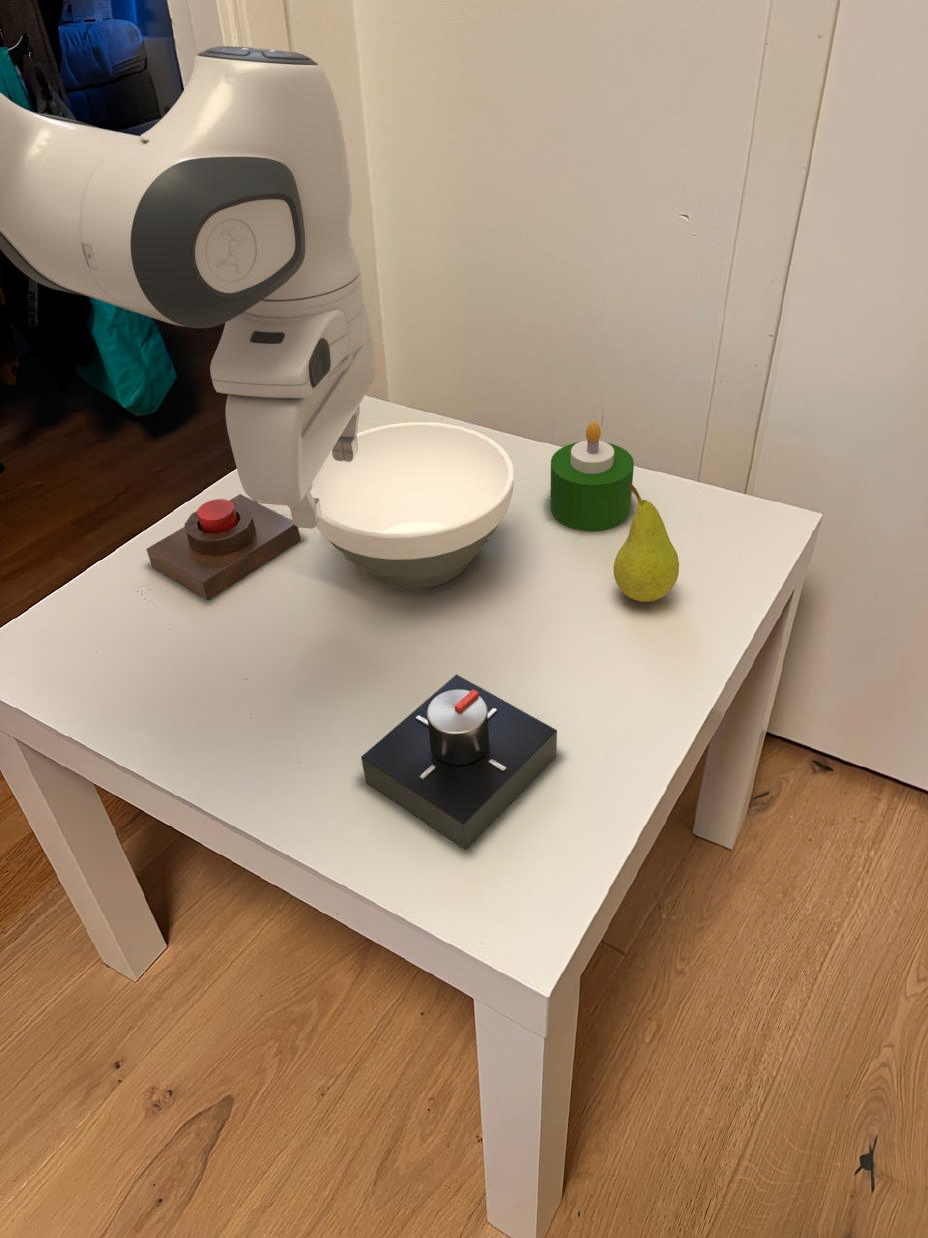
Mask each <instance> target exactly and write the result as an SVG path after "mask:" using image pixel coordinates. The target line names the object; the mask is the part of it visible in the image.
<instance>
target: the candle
mask: <svg viewBox="0 0 928 1238" xmlns="http://www.w3.org/2000/svg"><path fill="white" fill-rule="evenodd" d="M601 433H602V432H601V427H600V425H599V424H598V422H597V421H591V422H590V423H589V425H587V428H586V431H585V438H586V440H582V441H578V442H573V443H570V444H566V445H564V446H562V447H561V448H559V449H558V450H557V451H555V452H554V454H552V456H551V459H550V495H549V496H550V502H549V505H550V506H549V507H550V513H551V515H552V517H553V518H554V519H555V520H556V521H557V522H558V523H560V524H561V525H563V526H565V527H568V528H571V529H574V530H578V531H583V532H599V531H605V530H610V529H612V528H615V527H617V526H619V525H621V524H622V523H624V522H625V521H626V520H627V519H628V517H629V516H630V513H631V506H632V494H633V492H632V491H631V490H630V489H629V485H630V484H632V485H633V481H634V467H635V462H634V458H633V456H632V454H631V453H629V452H628V451H627V450H626V449H625V448H623V447H621V446H619V445H617V444H614V443H611V442H606V441H602V440H600V438H601Z"/></svg>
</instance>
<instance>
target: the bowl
mask: <svg viewBox="0 0 928 1238" xmlns="http://www.w3.org/2000/svg"><path fill="white" fill-rule="evenodd" d="M357 441H358V452H357V454H356V455H355V457H354V459H353V460H352V461H351V462H346V461H337V460H335V459H334V458H333V456H332V450H331V452H330V454H329V455H328V457H327V459H326V460H325V462H324V464H323V465H322V467H321V469H320V470H319V472H318V474H317V475H316V477H315V479H314V480H313V482H312V485H313V486H312V489H311V490H310V493H311V495H312V497H313V498H319V500H320V510H321V512H322V515H321V517H320V519H319V521H318V522H317V524H316V526H315V528H316V529H317V530H318V531H319V532H320V533H321V534H322V535H323V537H324V538H325V539H326V540H328V542H329V543H330V544H331V545H332V546H333V547H334V548H335V549H336V550H338V551H339V552H341V553H342V554H343V555H344V557H345V558H346V559H347V560H348V561H350V562H351V563H352V564H353V565H355V566H356V567H358V568H360V569H361V570H362V571H364V573H365V574H366V575H367V576H368V577H369V578H371V580H373V581H375V582H376V583H379V584H381V585H383V586H385V587H386V586H387V587H389V588H393V589H400V590H401V589H402V590H421V589H428V588H434V587H436V586H440V585H443V584H445V583H448V582H449V581H452V580H453V579H455V578H456V577H458V576H459V575H460V574H462V573H463V572H464V571H465V570H466V569H467V568H468V567H469V565H470V563H471V562H472V560H473V559H474V557H476V556H477V555H478V554H479V553H480V552H481V551H482V549H483V548H484V547H485V545H486V544H487V543H488V541H489V538H491V536H492V535H493V534H494V532H495V531H496V530H497V529H498V527H499V525H500V524H501V523H502V520H503V519H504V517H505V516H506V515H507V512H508V509H509V508H510V507H509V506H510V503H511V500H512V496H513V492H514V484H515V483H514V482H515V467H514V464H513V461H512V459H511V456H510V455H509V454H508V452H506V450H505V448H503V446H501V445H500V444H498V443H497V442H496V441H495V440H493V439H492V438H490V437H488V436H486V435H484V434H482V433H481V432H478V431H476V430H473V429H469V428H466V427H463V426H460V425H454V424H448V423H443V422H429V421H428V422H427V421H421V422H419V421H417V422H401V423H394V424H387V425H381V426H377V427H373V428H369V429H366V430H363V431H360V432H357Z"/></svg>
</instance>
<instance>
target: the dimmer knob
mask: <svg viewBox="0 0 928 1238" xmlns="http://www.w3.org/2000/svg"><path fill="white" fill-rule="evenodd" d="M427 720H428V729H429V738H430V746H431V750H432V752H433V754H434V755H435V756H436V757H437V758H438V759H439V760H441V761H443V762H445V763H447V764H452V765H465V764H469V763H472V762H474V761H476V760H478V759H479V758H481V757H482V756H483V755H484V754H485V752H486V751H487V749H488V746H489V731H488V711H487V705H486V703H485V701H484V700H483V699H482V698H481V697H480V696H479V693H478V692H477V691H475V690H472V691H468V690H460V689H458V690H450V691H446V692H443V693H441V694H439V695H438V696H436V697H435V698H434V699H433V700H432V701H431V702H430V704H429V706H428V709H427Z"/></svg>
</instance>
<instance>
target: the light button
mask: <svg viewBox="0 0 928 1238" xmlns="http://www.w3.org/2000/svg"><path fill="white" fill-rule="evenodd" d="M196 511H197V516H198V519H199V523H200V526H201V529H202V531H203V532H205V533H214V534H217V533H221V532H225V531H228V530H230V529H231V528H233V527H235V526H236V525H237V522H238V520H237V516H236V512H235V508H234V505H233V503H232V502H230V501H229V499H223V498H218V499H217V498H216V499H212V500H209V501H206V502H204V503H202V504H201V505H200V506H199V507H198V508H197V510H196Z"/></svg>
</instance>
